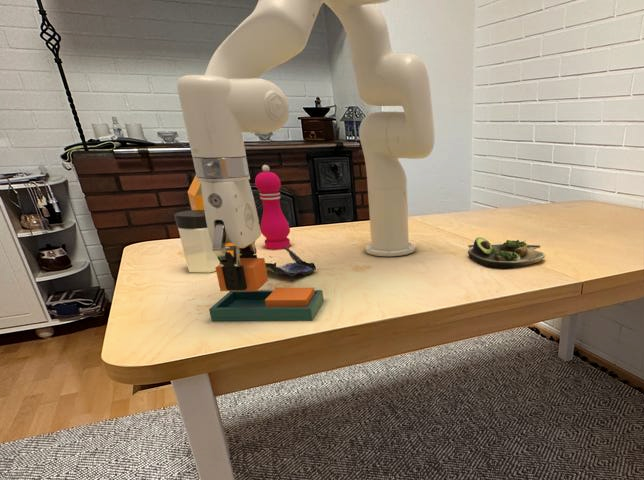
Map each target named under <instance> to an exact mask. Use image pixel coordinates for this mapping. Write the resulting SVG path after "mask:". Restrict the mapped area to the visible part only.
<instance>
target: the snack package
mask: <svg viewBox="0 0 644 480" xmlns="http://www.w3.org/2000/svg"><path fill="white" fill-rule="evenodd" d="M280 248H281V247H280ZM283 250H284V251H286V252H287V253H288V255H289V257H290V258H291V259H292V260H293V261H294V262H287V263H286V264H283V265H280V266H277V262H274V263H273V261H272V260H271V261H270V262H265V265H266V271H270V272H271V273H273V274H275V275H287V276H289V277H290V278H292V277H294V276H295V275H297V274H301V275H302V276H303V277H306V276H307V275H310V274H312V273H313V272H314V271H316V270H317V267H316V266H317V265H315V263H314V262H306V261H305V260H303V259H301V257H300V256H298V255H297V254H296V253H295V252H294V251H293V250H291V249H290V248H289V247H286V245H285V246H284V248H283ZM272 251H273V252H274V251H275V249H272ZM269 258H271V259H272V258H273V257H272V256H270V255H269ZM290 281H293V279H291V280H290Z"/></svg>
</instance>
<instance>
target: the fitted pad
mask: <svg viewBox="0 0 644 480" xmlns="http://www.w3.org/2000/svg"><path fill="white" fill-rule="evenodd" d="M273 290H274V291H273V292H272V293H271V294H270V295H269V296H268V297H267V298H266V299H265V304H266V307H308V305H309V304H310V302H311V300H312V299H313V297H314V296H315V290H316V289H315V287H311V286H310V287H308V286H307V287H275V288H274V289H273Z"/></svg>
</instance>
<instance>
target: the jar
mask: <svg viewBox="0 0 644 480" xmlns="http://www.w3.org/2000/svg"><path fill="white" fill-rule="evenodd" d="M173 216H174V220H175V224H176V227H177V229H178V233H179V238H180V241H181V246H182V249H183V253H184V258H185V262H186V265H187V269H188V273H207V274H208V273H213V272H216V268H215V267H217V266H218V265H220V262H219V260H218V258H217V256H216V255H215V253H214V252H213V250H212V247H213V245H212V243H211V240H210V236H209V232H208V228H207V223H206V217H205V211H204V210H192V209H191V210H183V211H179V212H176V213H174V214H173Z"/></svg>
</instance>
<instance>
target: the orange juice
mask: <svg viewBox="0 0 644 480" xmlns="http://www.w3.org/2000/svg"><path fill="white" fill-rule="evenodd" d="M187 196H188V200H189V203H190V209H191V210H204V205H203V197H202V188H201V182H200V181H197V176H196V174H195V175H194V178H193V180H192V182H191V184H190V185H189V188H188V190H187ZM225 246H234V245H233V244H232V243H227V244H226V245H225ZM227 252H230V253H231V255H232V256H233V251H227ZM240 255H241V254H240Z"/></svg>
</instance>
